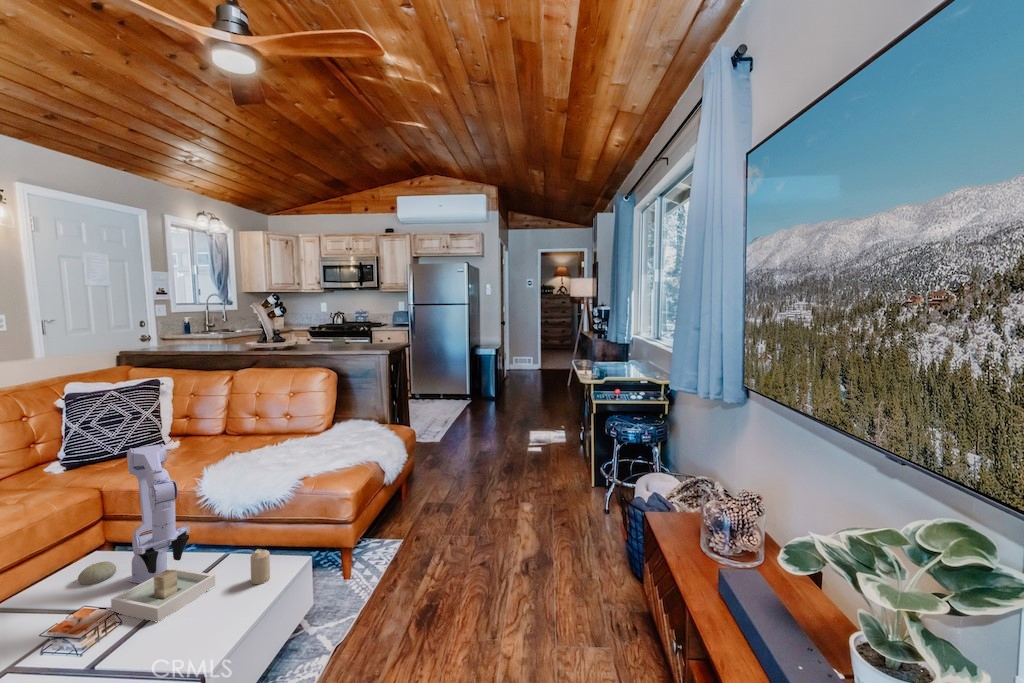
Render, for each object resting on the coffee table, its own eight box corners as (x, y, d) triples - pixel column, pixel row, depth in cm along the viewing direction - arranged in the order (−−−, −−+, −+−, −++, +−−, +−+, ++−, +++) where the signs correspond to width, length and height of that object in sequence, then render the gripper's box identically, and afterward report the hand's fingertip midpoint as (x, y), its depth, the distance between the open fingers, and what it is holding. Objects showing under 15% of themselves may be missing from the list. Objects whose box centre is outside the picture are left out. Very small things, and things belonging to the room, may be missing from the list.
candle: (273, 575, 149) (273, 546, 149) (262, 585, 144) (262, 554, 143) (258, 575, 150) (257, 545, 149) (247, 584, 144) (246, 554, 144)
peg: (154, 602, 135) (153, 576, 135) (167, 594, 139) (166, 569, 139) (164, 604, 134) (163, 578, 134) (177, 596, 138) (176, 571, 138)
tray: (111, 612, 130) (111, 599, 130) (172, 579, 147) (172, 567, 147) (157, 622, 125) (157, 608, 125) (215, 587, 143) (215, 574, 143)
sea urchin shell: (123, 569, 150) (101, 560, 145) (102, 594, 146) (78, 585, 141) (114, 562, 155) (92, 553, 150) (93, 585, 151) (69, 577, 146)
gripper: (148, 534, 128) (150, 580, 128) (196, 514, 142) (197, 555, 142) (130, 531, 130) (132, 577, 130) (179, 511, 144) (180, 553, 144)
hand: (165, 565), depth 136 cm, fingers open, 7 cm apart
